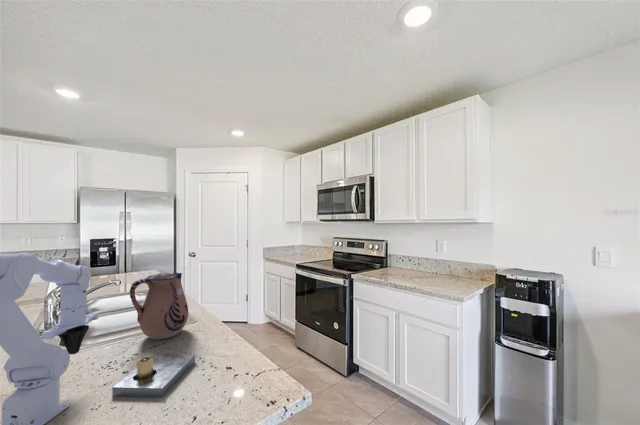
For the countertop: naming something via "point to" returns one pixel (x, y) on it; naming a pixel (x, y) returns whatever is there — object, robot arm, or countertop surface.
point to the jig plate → (155, 377)
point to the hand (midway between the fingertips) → (73, 353)
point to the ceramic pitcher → (161, 306)
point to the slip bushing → (144, 368)
